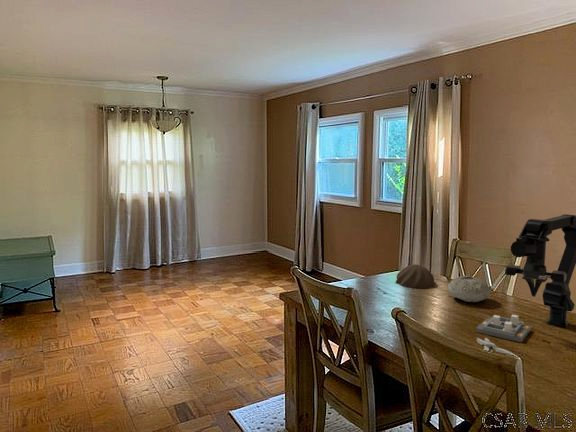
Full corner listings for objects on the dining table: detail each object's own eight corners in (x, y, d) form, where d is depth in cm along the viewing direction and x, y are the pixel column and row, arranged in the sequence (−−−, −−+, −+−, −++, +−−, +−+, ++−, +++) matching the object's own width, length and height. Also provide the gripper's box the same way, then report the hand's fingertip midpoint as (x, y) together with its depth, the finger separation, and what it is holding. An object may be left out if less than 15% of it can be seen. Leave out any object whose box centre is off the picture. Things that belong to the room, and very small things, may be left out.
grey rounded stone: (499, 302, 192) (500, 280, 191) (470, 308, 185) (471, 285, 183) (466, 291, 208) (467, 271, 207) (438, 297, 201) (439, 276, 199)
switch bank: (487, 321, 170) (487, 314, 170) (530, 330, 160) (530, 323, 160) (475, 332, 159) (476, 325, 159) (521, 342, 149) (521, 335, 149)
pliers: (490, 357, 136) (467, 338, 151) (490, 362, 136) (467, 342, 151) (520, 356, 136) (495, 337, 151) (520, 360, 137) (495, 341, 151)
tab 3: (510, 323, 163) (511, 314, 163) (519, 324, 161) (520, 315, 161) (508, 325, 161) (509, 316, 161) (517, 327, 159) (518, 318, 159)
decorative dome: (436, 280, 230) (437, 261, 229) (432, 290, 212) (432, 270, 211) (399, 276, 238) (399, 259, 237) (392, 286, 220) (392, 267, 219)
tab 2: (504, 330, 157) (504, 320, 156) (513, 332, 155) (514, 322, 154) (502, 332, 154) (502, 323, 154) (511, 334, 152) (511, 325, 152)
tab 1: (492, 323, 163) (493, 314, 163) (501, 325, 161) (501, 316, 161) (490, 325, 161) (491, 316, 161) (499, 327, 159) (499, 318, 159)
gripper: (502, 254, 156) (500, 297, 158) (562, 261, 144) (559, 307, 146) (509, 249, 165) (508, 289, 167) (567, 256, 153) (565, 299, 155)
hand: (533, 296), depth 158 cm, fingers closed
